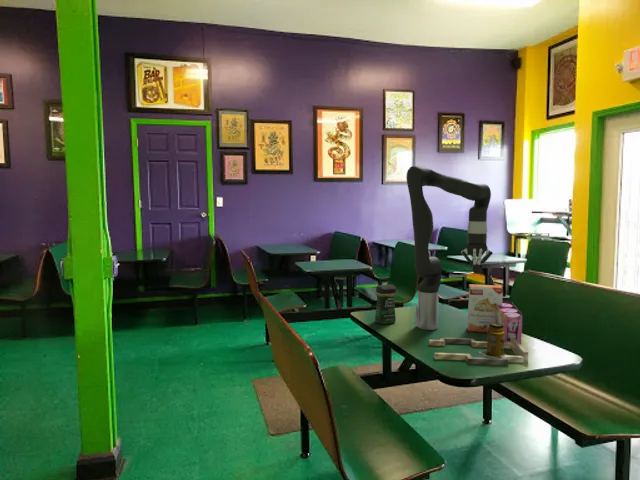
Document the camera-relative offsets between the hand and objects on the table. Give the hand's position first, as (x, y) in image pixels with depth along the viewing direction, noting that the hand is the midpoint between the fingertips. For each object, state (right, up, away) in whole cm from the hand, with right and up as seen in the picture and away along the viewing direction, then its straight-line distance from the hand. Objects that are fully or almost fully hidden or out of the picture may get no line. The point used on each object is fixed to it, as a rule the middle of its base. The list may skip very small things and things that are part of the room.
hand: (475, 273), depth 188 cm
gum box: (+15, -29, +5) cm, 33 cm away
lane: (-4, -30, -12) cm, 33 cm away
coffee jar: (-34, -26, +30) cm, 52 cm away
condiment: (+2, -31, -14) cm, 34 cm away
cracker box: (+9, -28, +16) cm, 33 cm away
